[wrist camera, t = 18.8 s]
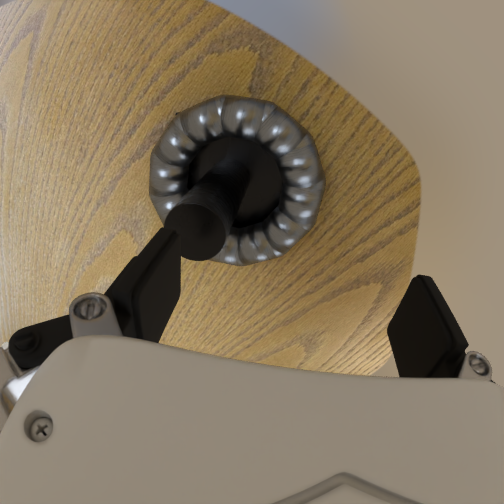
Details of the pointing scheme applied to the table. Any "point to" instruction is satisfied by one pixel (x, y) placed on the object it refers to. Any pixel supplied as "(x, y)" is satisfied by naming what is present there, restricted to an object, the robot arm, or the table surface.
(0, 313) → the table surface
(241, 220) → the black peg stand
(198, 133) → the dark gray twisted ring
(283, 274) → the table surface
